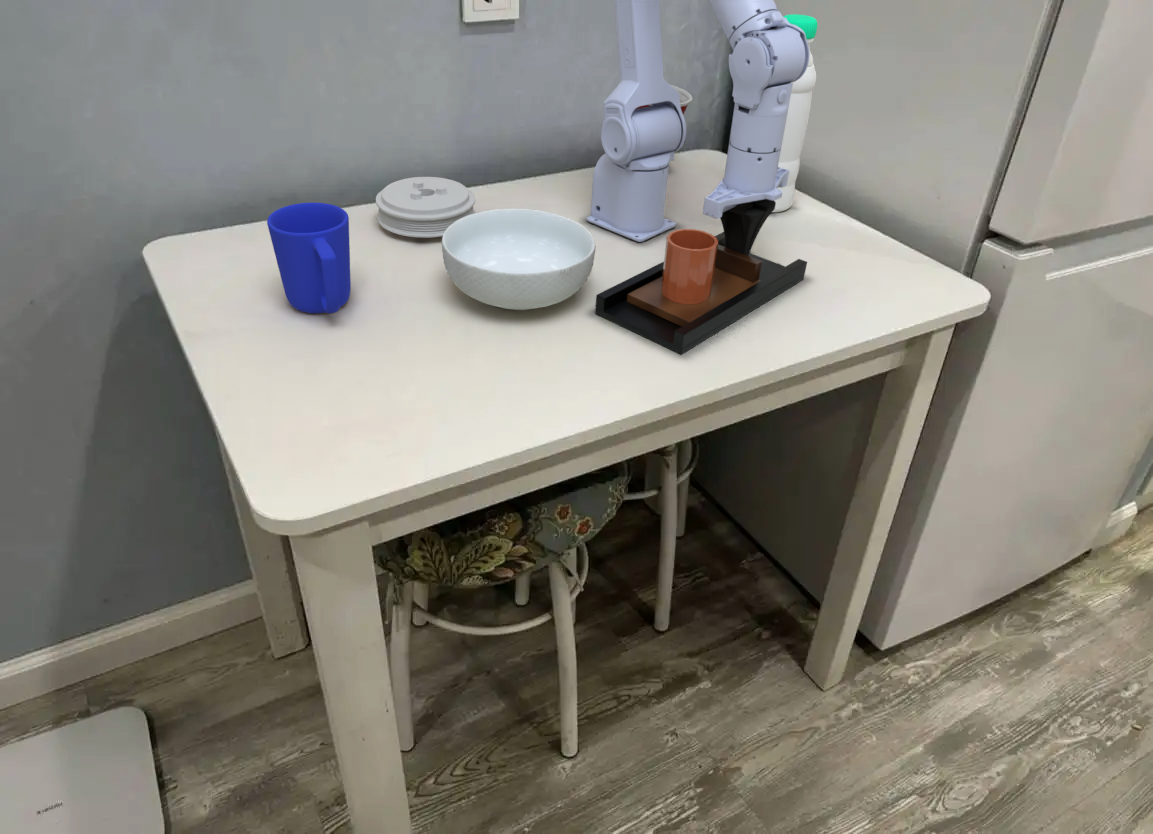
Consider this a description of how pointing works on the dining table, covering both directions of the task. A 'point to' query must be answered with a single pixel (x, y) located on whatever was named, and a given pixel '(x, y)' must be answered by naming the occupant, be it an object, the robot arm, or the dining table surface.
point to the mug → (312, 255)
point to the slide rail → (684, 338)
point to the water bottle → (797, 115)
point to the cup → (689, 266)
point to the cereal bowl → (518, 257)
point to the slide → (728, 281)
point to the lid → (423, 206)
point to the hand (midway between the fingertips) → (736, 257)
